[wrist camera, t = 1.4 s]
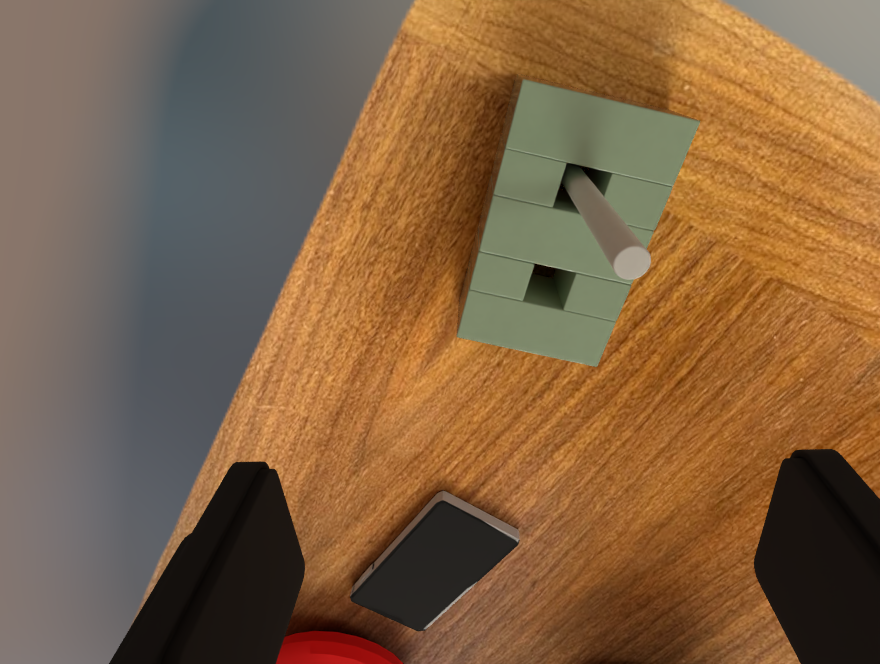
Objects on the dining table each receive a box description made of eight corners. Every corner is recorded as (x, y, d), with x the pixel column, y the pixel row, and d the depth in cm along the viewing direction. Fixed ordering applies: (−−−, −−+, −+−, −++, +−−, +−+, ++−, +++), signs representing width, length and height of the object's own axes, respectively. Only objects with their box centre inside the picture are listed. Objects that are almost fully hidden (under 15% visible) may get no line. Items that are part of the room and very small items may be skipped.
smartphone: (523, 542, 42) (423, 634, 49) (522, 530, 43) (424, 621, 50) (438, 497, 41) (345, 599, 47) (439, 486, 42) (348, 587, 48)
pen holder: (583, 329, 34) (597, 367, 30) (458, 302, 34) (456, 337, 30) (669, 109, 28) (701, 121, 24) (516, 73, 27) (523, 78, 23)
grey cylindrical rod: (554, 179, 30) (607, 276, 18) (560, 157, 29) (621, 242, 17) (574, 183, 30) (643, 283, 18) (582, 162, 29) (657, 250, 17)
